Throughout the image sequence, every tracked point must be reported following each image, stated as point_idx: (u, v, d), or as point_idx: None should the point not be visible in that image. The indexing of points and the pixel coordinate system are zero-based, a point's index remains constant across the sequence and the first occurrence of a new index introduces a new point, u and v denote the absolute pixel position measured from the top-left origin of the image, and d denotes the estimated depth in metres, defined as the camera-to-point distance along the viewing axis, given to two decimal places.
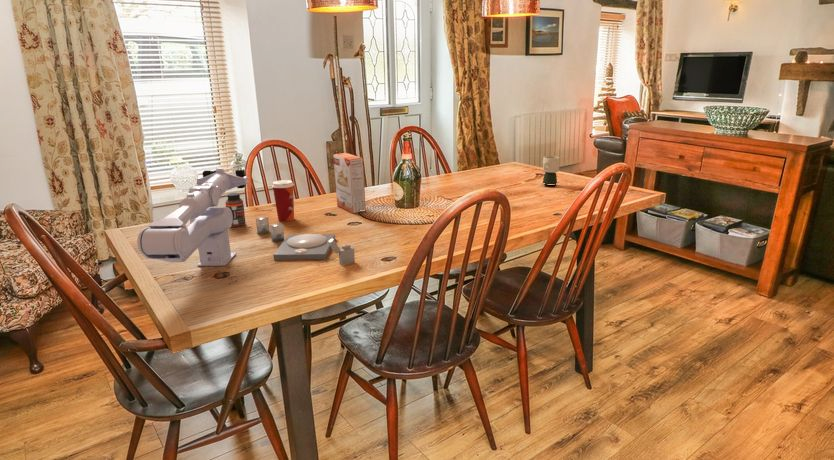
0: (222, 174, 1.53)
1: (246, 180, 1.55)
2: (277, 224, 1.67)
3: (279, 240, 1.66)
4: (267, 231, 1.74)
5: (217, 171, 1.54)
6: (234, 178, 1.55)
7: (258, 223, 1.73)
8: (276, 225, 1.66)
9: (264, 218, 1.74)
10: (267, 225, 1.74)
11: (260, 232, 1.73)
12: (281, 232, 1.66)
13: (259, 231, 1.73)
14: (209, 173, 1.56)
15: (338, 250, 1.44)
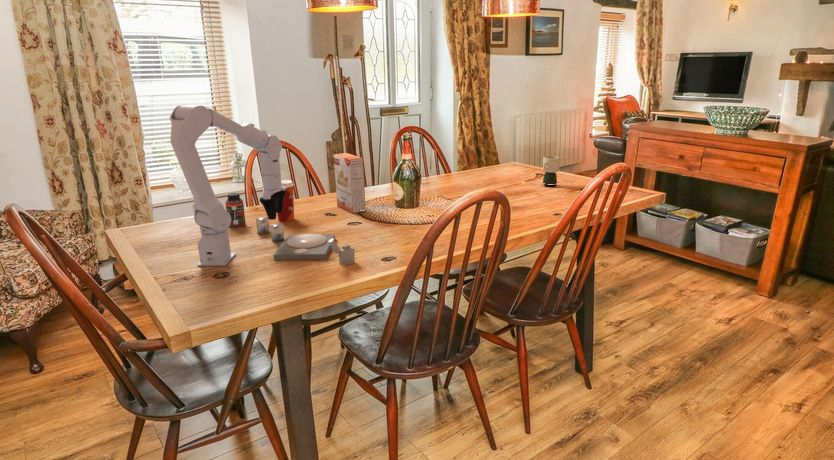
0: (279, 184, 1.61)
1: (266, 196, 1.56)
2: (277, 224, 1.67)
3: (279, 240, 1.66)
4: (267, 231, 1.74)
5: None
6: None
7: (258, 223, 1.73)
8: (276, 225, 1.66)
9: (264, 218, 1.74)
10: (267, 225, 1.74)
11: (260, 232, 1.73)
12: (281, 232, 1.66)
13: (259, 231, 1.73)
14: (282, 190, 1.67)
15: (338, 250, 1.44)
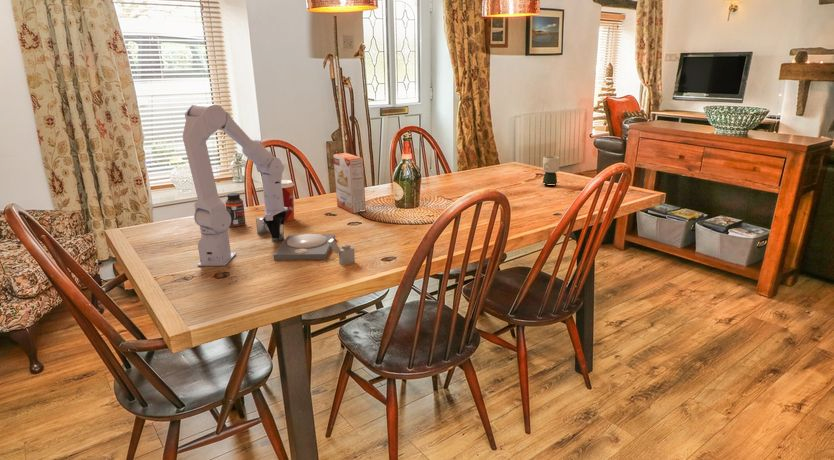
0: (281, 205, 1.63)
1: (268, 217, 1.58)
2: None
3: (279, 240, 1.66)
4: (267, 231, 1.74)
5: (285, 207, 1.65)
6: None
7: (258, 223, 1.73)
8: None
9: None
10: None
11: (260, 232, 1.73)
12: (281, 232, 1.66)
13: (259, 231, 1.73)
14: (284, 211, 1.69)
15: (338, 250, 1.44)
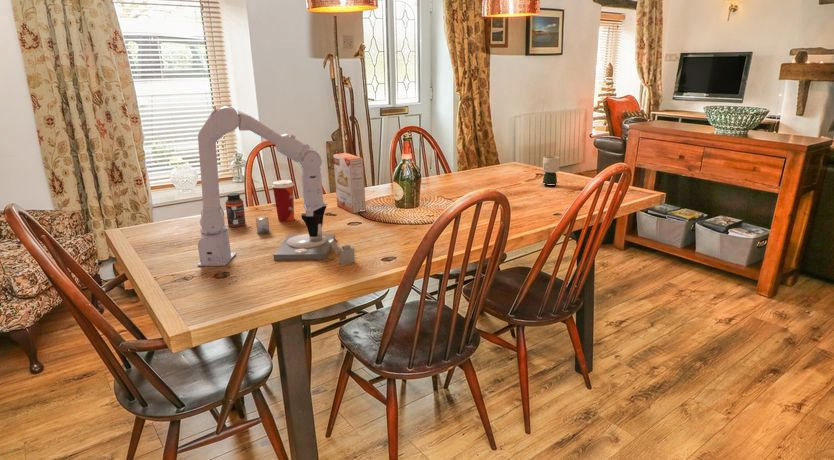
0: (321, 200, 1.55)
1: (309, 212, 1.50)
2: None
3: (317, 240, 1.58)
4: (267, 231, 1.74)
5: (324, 202, 1.57)
6: None
7: (258, 223, 1.73)
8: None
9: (264, 218, 1.74)
10: (267, 225, 1.74)
11: (260, 232, 1.73)
12: (319, 232, 1.58)
13: (259, 231, 1.73)
14: (323, 206, 1.61)
15: (338, 250, 1.44)
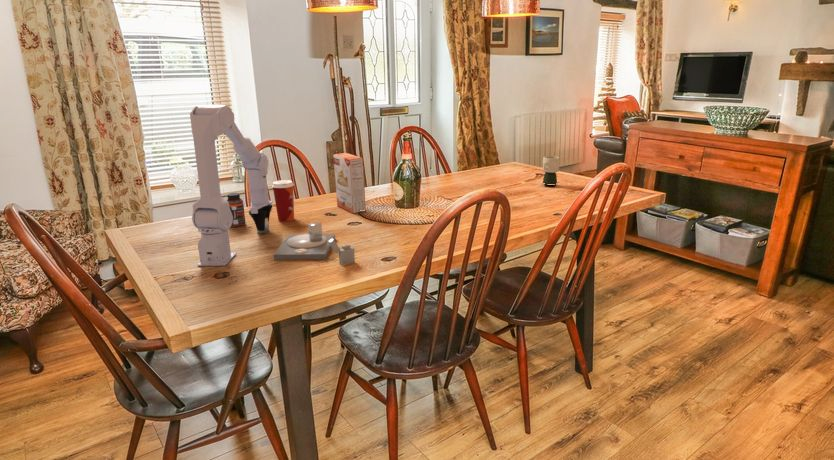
0: (266, 199, 1.71)
1: (253, 210, 1.66)
2: (315, 223, 1.59)
3: (317, 240, 1.58)
4: (267, 231, 1.74)
5: (270, 201, 1.73)
6: None
7: None
8: (314, 224, 1.58)
9: None
10: (267, 225, 1.74)
11: (260, 232, 1.73)
12: (319, 232, 1.58)
13: (259, 231, 1.73)
14: (270, 204, 1.77)
15: (338, 250, 1.44)
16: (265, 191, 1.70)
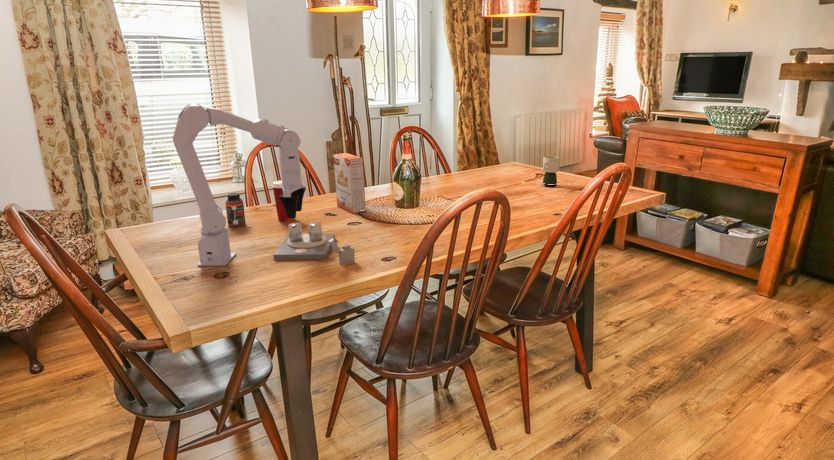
0: (299, 182, 1.54)
1: (286, 193, 1.48)
2: (315, 223, 1.59)
3: (317, 240, 1.58)
4: (299, 239, 1.59)
5: (303, 184, 1.56)
6: None
7: (290, 230, 1.58)
8: (314, 224, 1.58)
9: (297, 225, 1.58)
10: (300, 232, 1.58)
11: (292, 240, 1.58)
12: (319, 232, 1.58)
13: (291, 238, 1.58)
14: (302, 188, 1.59)
15: (338, 250, 1.44)
16: (298, 173, 1.53)
